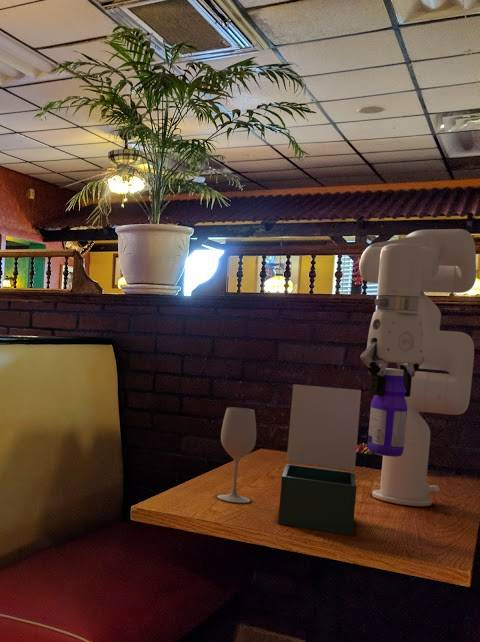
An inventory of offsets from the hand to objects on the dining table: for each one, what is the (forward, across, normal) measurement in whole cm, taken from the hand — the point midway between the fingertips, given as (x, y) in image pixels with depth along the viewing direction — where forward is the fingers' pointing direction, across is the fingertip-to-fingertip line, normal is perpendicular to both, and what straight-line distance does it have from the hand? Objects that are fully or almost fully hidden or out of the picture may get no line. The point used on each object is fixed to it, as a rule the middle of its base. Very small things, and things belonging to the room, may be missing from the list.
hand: (389, 394), depth 151 cm
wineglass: (+28, -16, +26) cm, 41 cm away
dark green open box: (+28, -8, +8) cm, 30 cm away
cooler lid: (+9, -2, +15) cm, 18 cm away
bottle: (+12, 0, 0) cm, 12 cm away
